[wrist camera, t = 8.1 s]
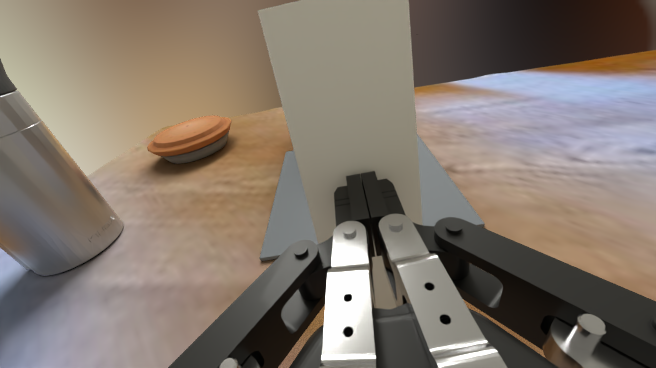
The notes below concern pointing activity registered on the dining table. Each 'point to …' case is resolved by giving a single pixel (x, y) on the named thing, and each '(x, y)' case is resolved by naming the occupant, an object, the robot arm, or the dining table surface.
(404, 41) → the tall cream block
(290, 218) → the mat
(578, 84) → the dining table surface
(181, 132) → the pie
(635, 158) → the dining table surface
